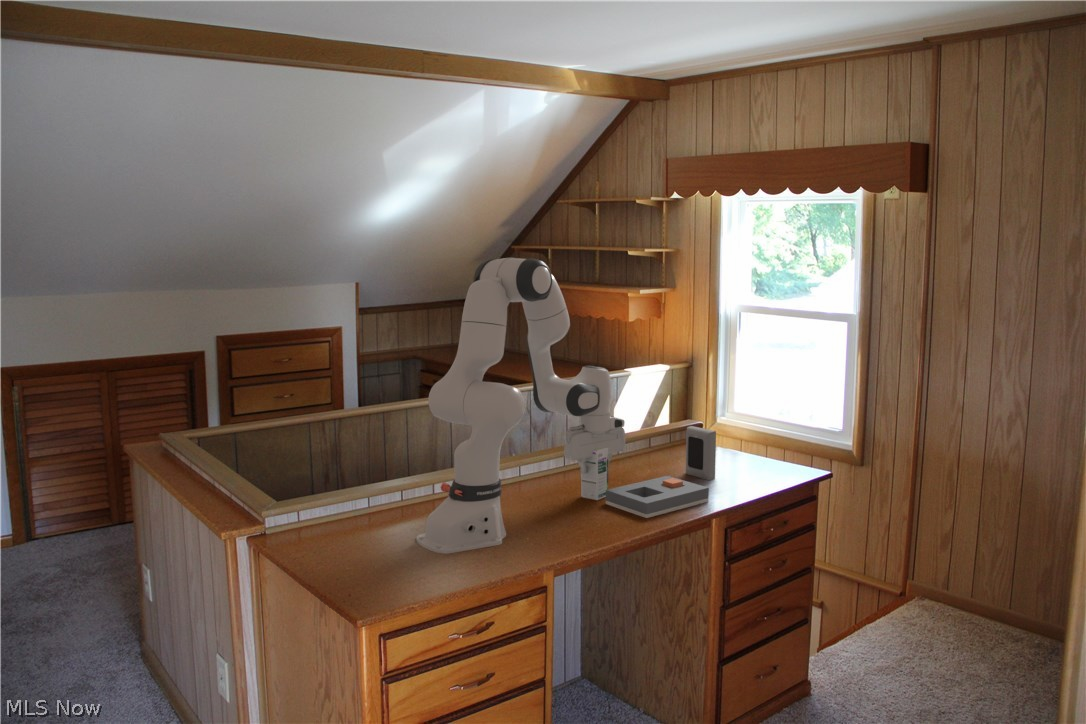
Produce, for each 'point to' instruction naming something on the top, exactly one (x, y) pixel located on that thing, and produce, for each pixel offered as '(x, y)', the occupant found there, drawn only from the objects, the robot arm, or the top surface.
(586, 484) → the syrup box
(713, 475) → the grey upright rectangular block
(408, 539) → the top surface
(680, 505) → the grey two-pocket tray
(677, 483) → the orange block
